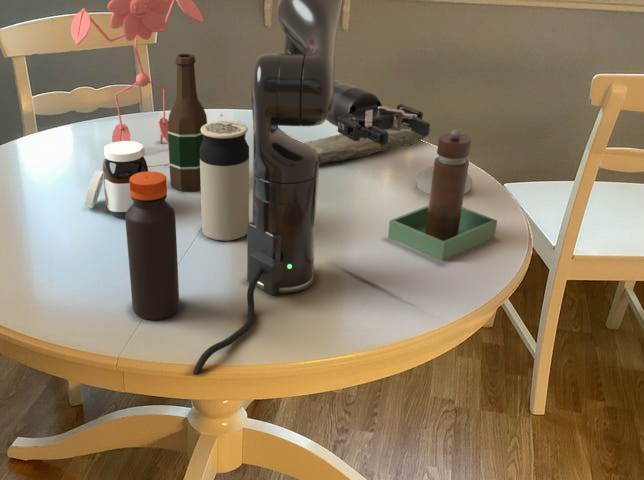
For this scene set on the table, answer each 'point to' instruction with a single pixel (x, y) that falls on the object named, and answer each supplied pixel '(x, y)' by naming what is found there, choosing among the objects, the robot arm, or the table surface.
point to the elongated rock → (360, 145)
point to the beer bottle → (185, 129)
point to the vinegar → (152, 247)
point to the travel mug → (224, 180)
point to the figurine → (136, 18)
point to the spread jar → (117, 176)
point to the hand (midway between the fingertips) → (407, 134)
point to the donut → (426, 180)
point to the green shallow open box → (413, 235)
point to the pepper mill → (448, 185)
